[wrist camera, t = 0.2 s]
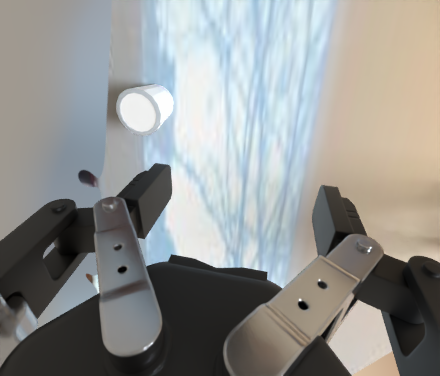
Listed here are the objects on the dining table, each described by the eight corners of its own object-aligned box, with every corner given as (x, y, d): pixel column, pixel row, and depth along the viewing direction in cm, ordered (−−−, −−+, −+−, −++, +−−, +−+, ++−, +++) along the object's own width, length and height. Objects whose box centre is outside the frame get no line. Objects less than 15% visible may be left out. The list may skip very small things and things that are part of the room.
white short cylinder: (182, 91, 40) (166, 101, 35) (171, 129, 44) (154, 143, 38) (142, 72, 40) (119, 79, 34) (134, 111, 44) (112, 124, 38)
